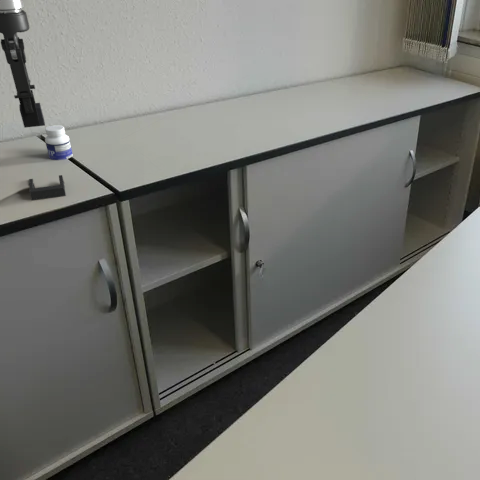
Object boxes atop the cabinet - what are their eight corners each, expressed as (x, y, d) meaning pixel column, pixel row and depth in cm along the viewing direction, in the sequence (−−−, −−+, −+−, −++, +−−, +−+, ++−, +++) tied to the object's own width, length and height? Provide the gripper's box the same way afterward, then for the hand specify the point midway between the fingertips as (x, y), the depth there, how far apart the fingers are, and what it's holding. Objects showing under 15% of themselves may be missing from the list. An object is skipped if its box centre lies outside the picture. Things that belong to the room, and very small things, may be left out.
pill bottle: (47, 161, 134) (38, 126, 129) (69, 156, 137) (62, 122, 133) (55, 168, 131) (46, 133, 126) (77, 163, 134) (70, 129, 130)
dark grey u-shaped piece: (31, 187, 122) (29, 178, 121) (64, 182, 125) (62, 175, 124) (31, 200, 117) (29, 192, 116) (65, 195, 119) (63, 187, 118)
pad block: (24, 121, 121) (19, 104, 119) (44, 119, 123) (39, 102, 121) (24, 127, 118) (19, 109, 116) (45, 125, 120) (40, 107, 118)
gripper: (26, 16, 104) (54, 133, 116) (24, 3, 116) (49, 109, 128) (-21, 17, 100) (13, 137, 112) (-17, 3, 113) (13, 112, 125)
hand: (32, 122), depth 120 cm, fingers closed on pad block, 4 cm apart
